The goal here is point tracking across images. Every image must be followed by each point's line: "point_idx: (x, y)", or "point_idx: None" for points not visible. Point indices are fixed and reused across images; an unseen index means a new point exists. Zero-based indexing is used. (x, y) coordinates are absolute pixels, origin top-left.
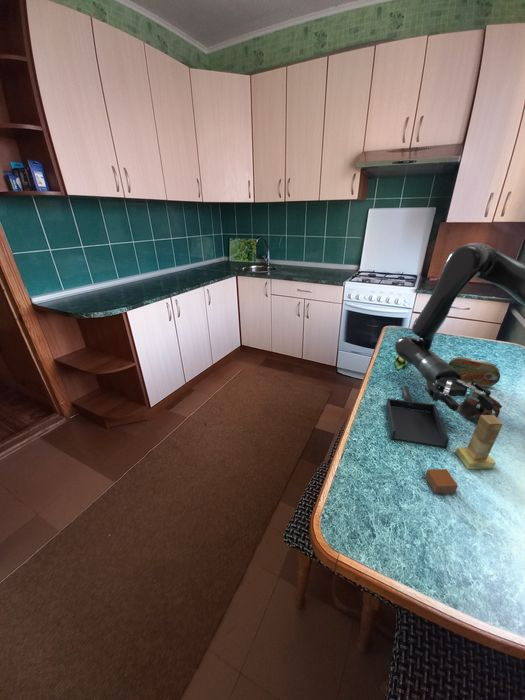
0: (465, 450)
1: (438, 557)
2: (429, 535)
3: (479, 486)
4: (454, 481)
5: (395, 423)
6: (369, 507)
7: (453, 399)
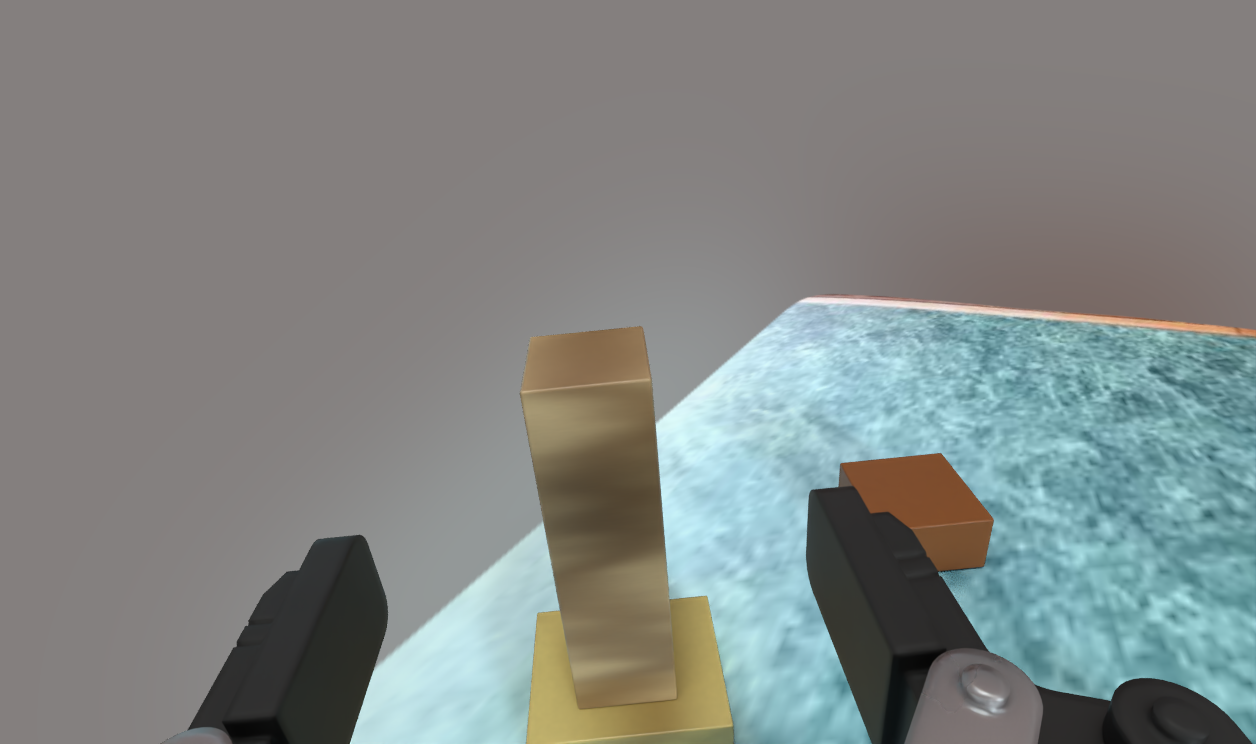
0: (684, 694)
1: (941, 357)
2: (966, 388)
3: (698, 547)
4: (852, 476)
5: None
6: (1219, 427)
7: (860, 563)
